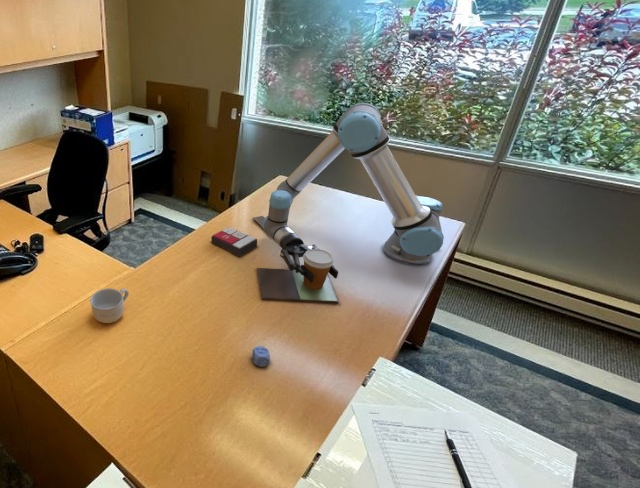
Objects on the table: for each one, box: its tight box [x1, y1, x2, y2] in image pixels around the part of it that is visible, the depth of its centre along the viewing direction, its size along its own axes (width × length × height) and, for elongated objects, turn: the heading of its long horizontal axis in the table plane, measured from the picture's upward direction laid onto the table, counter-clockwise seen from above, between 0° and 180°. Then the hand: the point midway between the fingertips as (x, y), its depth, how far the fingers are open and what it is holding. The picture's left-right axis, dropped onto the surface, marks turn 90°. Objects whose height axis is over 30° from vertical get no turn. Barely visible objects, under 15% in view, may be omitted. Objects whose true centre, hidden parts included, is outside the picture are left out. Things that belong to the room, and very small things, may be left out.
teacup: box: [89, 288, 130, 324], centre depth 137 cm, size 14×11×8 cm
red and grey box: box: [211, 226, 258, 257], centre depth 170 cm, size 11×4×15 cm
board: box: [256, 267, 339, 305], centre depth 145 cm, size 24×17×1 cm
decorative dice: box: [251, 345, 271, 368], centre depth 117 cm, size 4×4×4 cm
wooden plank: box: [252, 215, 265, 229], centre depth 181 cm, size 17×1×5 cm
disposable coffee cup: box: [302, 248, 335, 290], centre depth 141 cm, size 10×10×12 cm
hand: (324, 277), depth 137 cm, fingers closed on disposable coffee cup, 8 cm apart
